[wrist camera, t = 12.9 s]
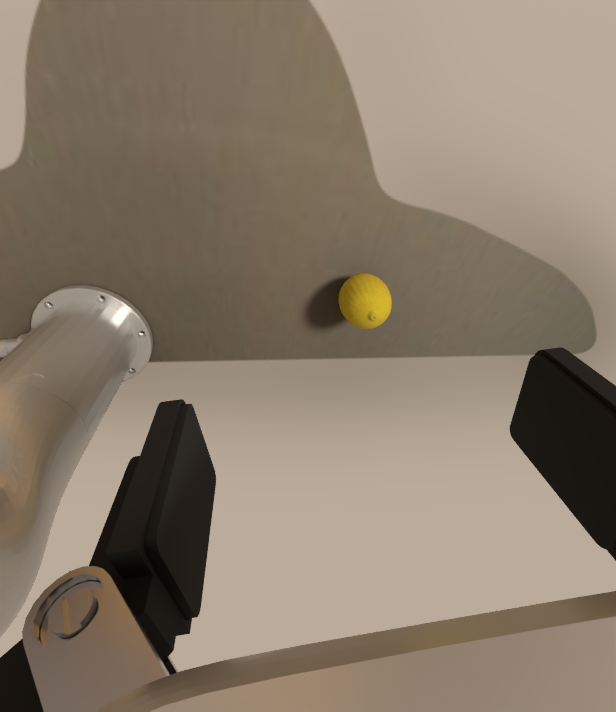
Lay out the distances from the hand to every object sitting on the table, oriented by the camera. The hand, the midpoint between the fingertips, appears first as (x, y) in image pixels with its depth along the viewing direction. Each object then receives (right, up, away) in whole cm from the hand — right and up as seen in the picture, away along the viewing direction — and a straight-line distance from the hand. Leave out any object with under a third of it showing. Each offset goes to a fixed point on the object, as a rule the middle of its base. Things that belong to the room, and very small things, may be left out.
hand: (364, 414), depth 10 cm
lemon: (+4, +10, +33) cm, 35 cm away
